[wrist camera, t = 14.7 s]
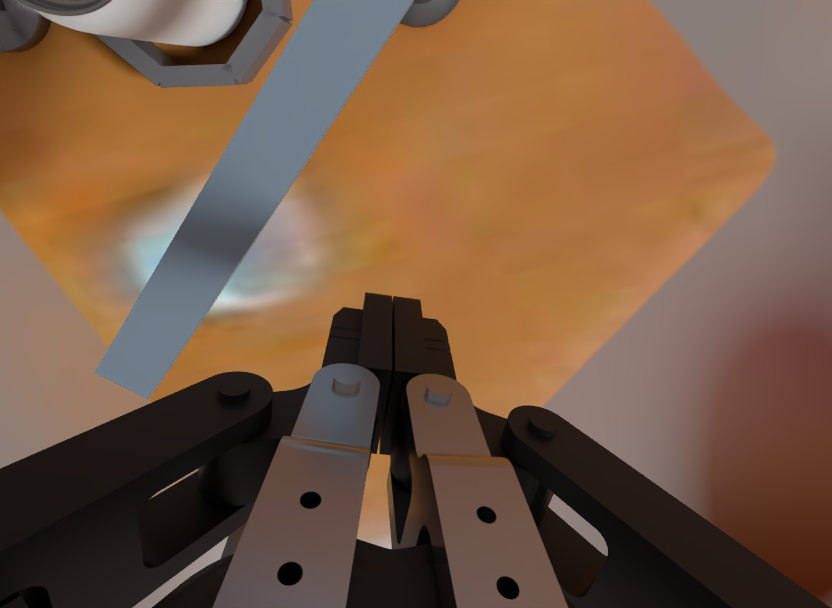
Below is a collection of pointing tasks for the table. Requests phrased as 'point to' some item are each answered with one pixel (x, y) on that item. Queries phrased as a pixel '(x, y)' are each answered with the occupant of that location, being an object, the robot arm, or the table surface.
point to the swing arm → (250, 182)
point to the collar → (234, 72)
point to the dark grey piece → (20, 26)
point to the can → (147, 18)
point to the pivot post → (427, 12)
